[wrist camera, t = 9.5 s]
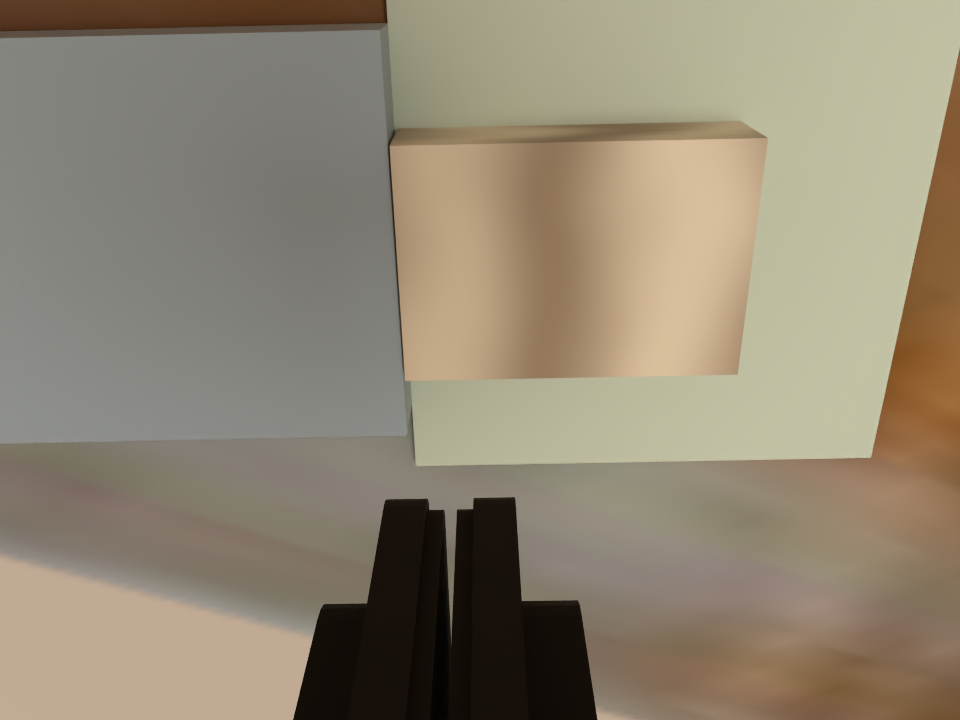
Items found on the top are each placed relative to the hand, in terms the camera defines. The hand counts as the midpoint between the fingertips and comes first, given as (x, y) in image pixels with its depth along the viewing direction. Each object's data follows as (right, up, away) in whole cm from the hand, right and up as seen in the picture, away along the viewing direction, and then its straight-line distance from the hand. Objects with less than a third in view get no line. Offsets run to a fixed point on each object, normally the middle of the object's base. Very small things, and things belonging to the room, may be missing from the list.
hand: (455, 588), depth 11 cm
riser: (-9, +7, +15) cm, 19 cm away
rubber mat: (+6, +7, +15) cm, 18 cm away
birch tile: (+3, +7, +15) cm, 17 cm away
